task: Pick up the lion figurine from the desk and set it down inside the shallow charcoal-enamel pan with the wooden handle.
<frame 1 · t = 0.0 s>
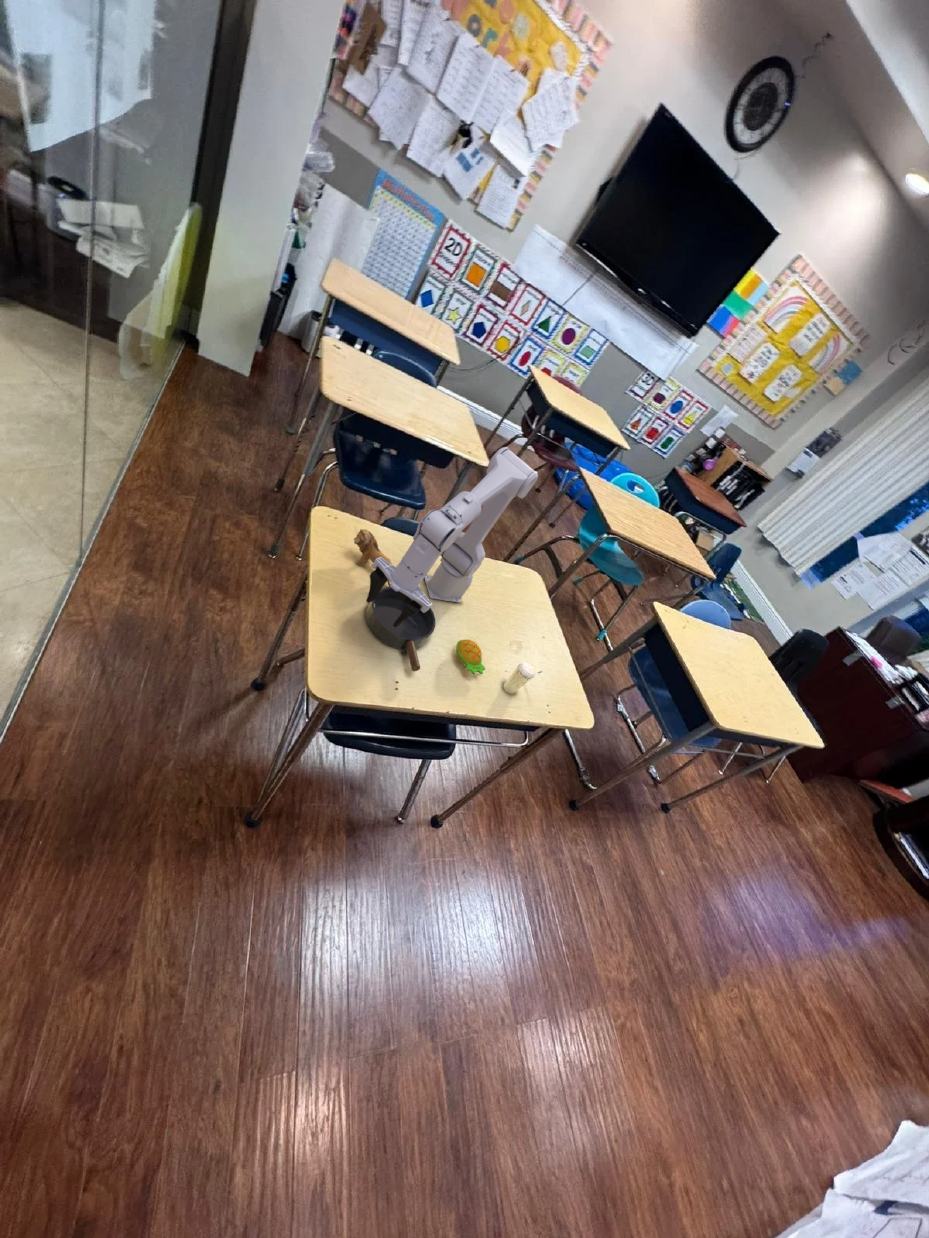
hand: (383, 612, 108), 11 cm above the table, tool pointing down, fingers open, 7 cm apart
toy pineapple: (465, 663, 126), on the table
lion figurine: (367, 570, 130), on the table
pan handle: (407, 663, 117), on the table
pan: (397, 622, 123), on the table
milkshake: (509, 689, 127), on the table
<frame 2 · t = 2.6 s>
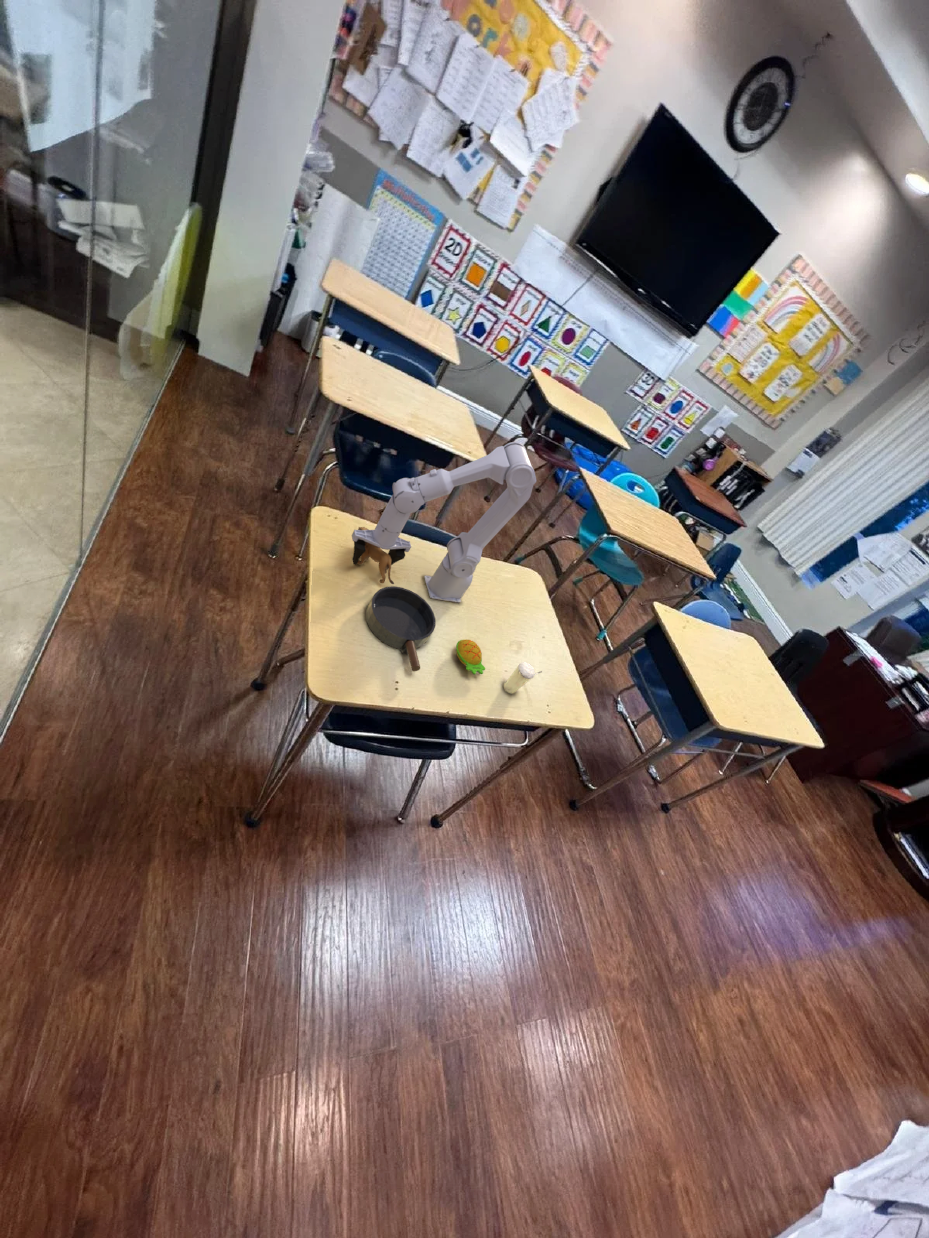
hand: (369, 564, 129), 2 cm above the table, tool pointing down
lion figurine: (368, 569, 130), on the table, touching gripper
everything else where it was.
when the fingers open (7 cm above the table, at t = 11.3 s): lion figurine stays where it is, resting on pan.
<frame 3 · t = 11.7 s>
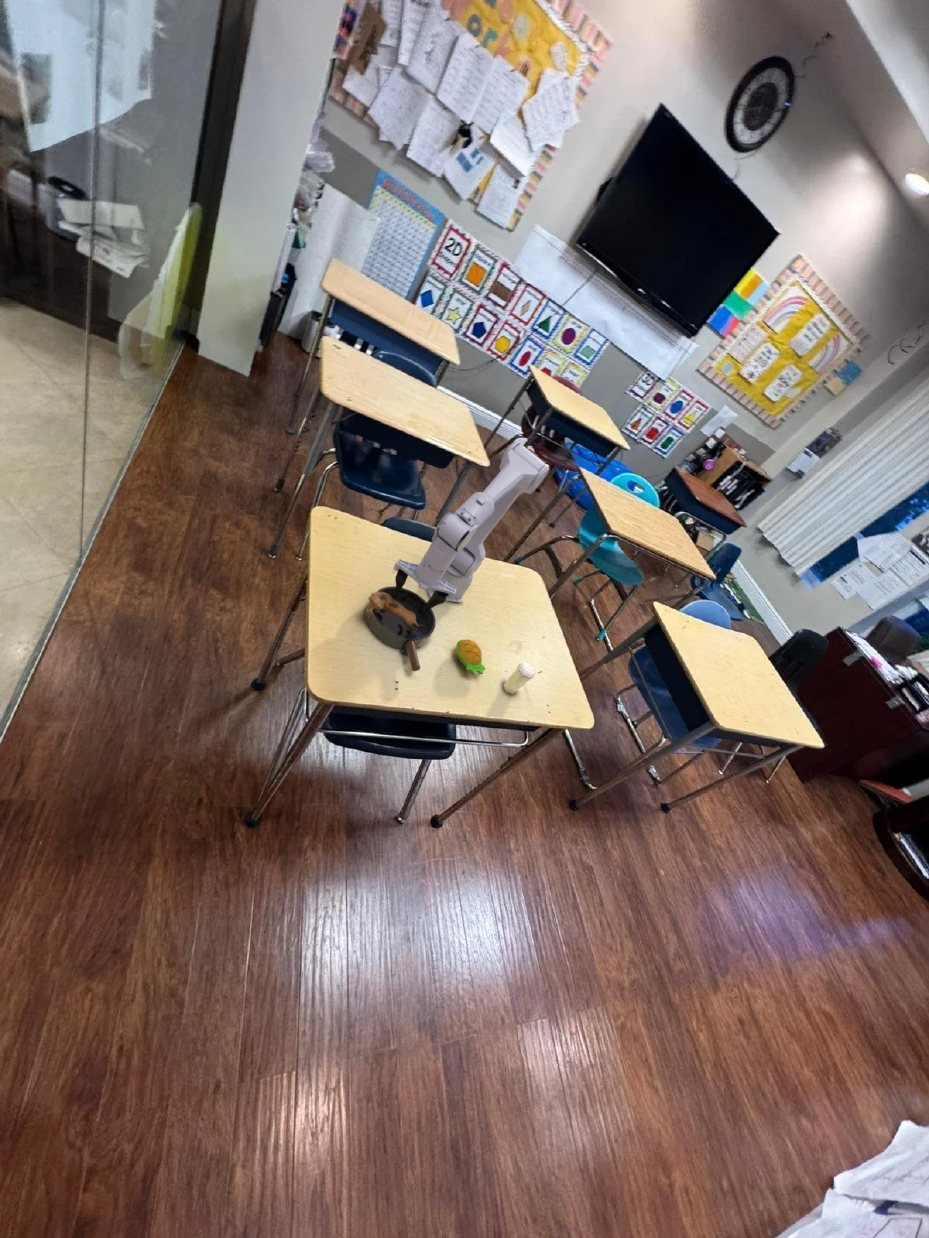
hand: (410, 602, 119), 7 cm above the table, tool pointing down, fingers open, 7 cm apart
lion figurine: (393, 613, 122), point 1 cm above the table, touching gripper, pan
everything else where it was.
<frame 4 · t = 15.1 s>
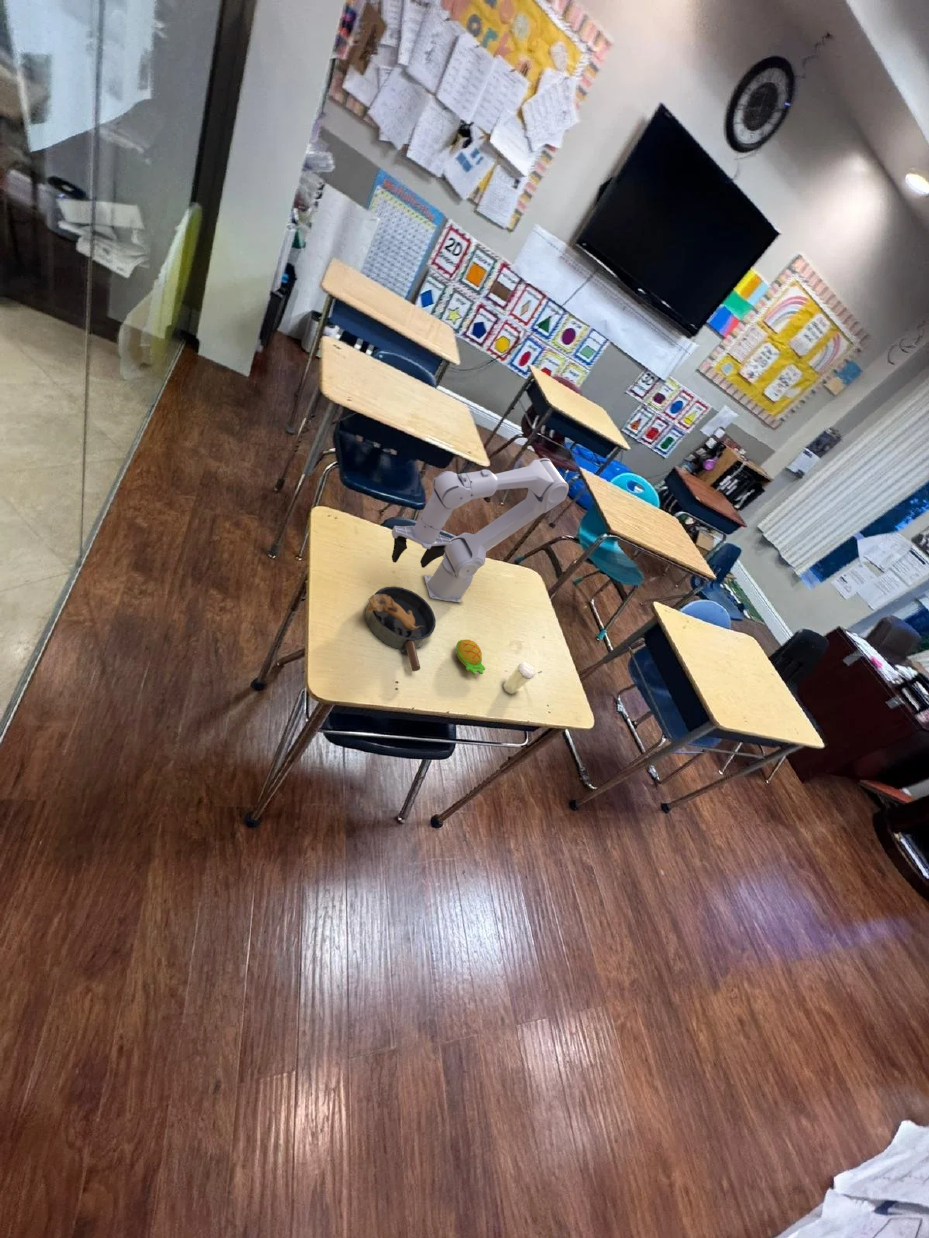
hand: (408, 562, 125), 9 cm above the table, tool pointing down, fingers open, 7 cm apart
lion figurine: (394, 611, 122), point 2 cm above the table, touching pan
everything else where it was.
at the end: lion figurine inside the target area in the pan (2.1 cm from its centre), point 2.1 cm above the pan's base; the gripper is holding nothing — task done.
